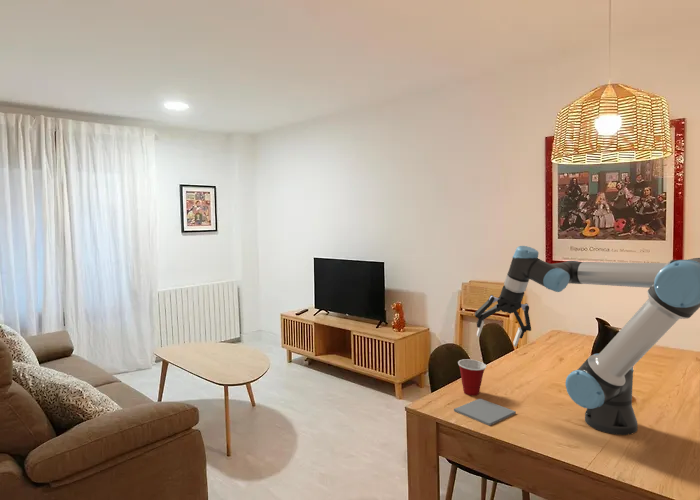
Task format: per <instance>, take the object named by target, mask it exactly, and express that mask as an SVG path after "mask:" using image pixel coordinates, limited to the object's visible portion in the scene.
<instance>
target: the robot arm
mask: <svg viewBox="0 0 700 500" xmlns="http://www.w3.org/2000/svg"><path fill="white" fill-rule="evenodd" d="M539 254H540V253H539V251H538V250H536V249H535V248H534V247H531V246H528V245H519V246H517V247H516V249H515V251H514V253H513V256H512V257H511V258H512V259H511V262H510V266H509V269H508V272H507V273H506V274H507V275H506V277H505V280H504V283H503V286H502V288H501V291H500V293H499V297H496V296H494V295H493V294H490V295H489V298H488V299H487V301H485V302H484V303H483V304H482V305H481V306H480V307H479V308H478V309H477V310H476V311H475V312H474V317H475V318H477V322H476V328H477V331H476V338H477V337H478V338H480V336H481V333H482V330H483V327H484V323H485V319H487V318H488V317H491V316H492V315H494V314H495V313H499V312H501V313H508V314H513V315H514V316H515V318H516V320H517V322H518V324H519V327H518V328H517V331H516V332H515V333H516V334H515V336H514V338H513V342H512V343H513V347H517V346H518V343H519V342H520V339H523V338H524V335H525V333H526V332H527V331H528V332H531V331H532V326H531V325H532V324H531V320H530V315H529V311H530V306H529V303H524V304H523V303H522V301H523V299H524V296H525V292H526V291H527V288H528V285H529V283H530V282H529V281H530V280H531V281H533V282H534V283H536V284H539V285H540V286H542V287H544V288H546V289H547V290H549V291H550V290H551V291H553V292H555V293H560V292H562V291H563V290H565V289H566V288H567V287H568V284H570V285H571V284H572V285H573V284H574V285H595V286H611V287H612V286H614V287H629V288H631V287H632V288H645V289H646V288H648V290H647V291H646V292H647V297H648V299H647V300H646V301H645V302H644V303H643V304H642V305H641V307H639V309H637V311H636V312H634V313H635V314H633V315H632V317H631V318H630V319H629V320H628V321H627V322H626V323H625V325H624V326H623V327H622V328H621V329H620V330H619V331H618V332H617V333H616V335H614V337H613V338H612V339H611V340H610V341H609V342H608V344H606V345H605V347H603V349H602V350H601V351H600V352H599V353H594V354H592V355H590V356H589V357H587V358H586V360H585V361H584V362H583V363H582V364H581V365H580V366H579V367H578V368H577V369H576V370H573V371H571V372H570V373H569V374H568V375H567V376H566V378H565V387H566V392H567V394H568V396H569V398H570V399H571V400H572V401H573V402H574V403H575V404H576V405H578V406H580V407H581V408H584V409H586V411H585V412H584V422H585V423H586V424H587V425H588V426H589V427H591V428H592V429H594V430H597V431H599V432H603V433H607V434H612V435H619V436H627V435H628V434H629V435H633V434H635V433H637V431H638V420H637V417H636V414H635V412H634V411H635V410H634V407H633V384H634V383H633V382H634V371H635V370H634V366H635V365H636V364H637V363H638V362H639V361H640V360H641V359H642V358H643V357H644V356H645V355H646V354H647V353H648V352H649V351H650V349H652V347H653V346H655V345H656V343H657V342H659V340H660V339H661V338H663V336H664V335H665V334H666V333H668V332H669V330H670V329H671V328H672V327H674V325H675V324H676V323H677V322H678V321H679V320H682V319H683V320H686V319H690V318H691V317H693V315H694V314H695V313H697V311H698V310H699V309H700V257H694V258H689V259H671V260H670V261H668V262H663V263H662V262H616V261H615V262H611V261H610V262H609V261H608V262H607V261H606V262H605V261H598V262H597V261H583V262H582V261H577V260H567V261H563V262H557V263H550V262H546V261H545V260H542V259H540V258H539ZM494 303H497V304H495V305H494V306H493V307H491V306H492V305H493V304H494ZM489 307H491V308H489ZM487 309H488V310H487ZM519 309H522V311H523V314H524V320H525V325H524V323H523V321H522V318H521V316H520V315H519V313H518V310H519ZM632 433H633V434H632Z"/></svg>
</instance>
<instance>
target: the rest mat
mask: <svg viewBox="0 0 700 500" xmlns="http://www.w3.org/2000/svg"><path fill="white" fill-rule="evenodd" d="M453 411H454V412H455V413H458V414H460V415H463V416H465V417H467V418H470V419H472V420H475V421H477V422H479V423H482V424H484V425H487V426H493V425H494V424H496V423H499V422H501V421H502V420H505V419H507V418H509V417H511V416H513V415H515V414H517V413H516V410H513V409H510V408H508V407H505V406H501V405H499V404H497V403H494V402H491V401H488V400H486V399H484V398H477V399H475V400H473V401H470V402H467V403H465V404H462V405H460V406H458V407H455V408H453Z"/></svg>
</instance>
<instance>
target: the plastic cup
mask: <svg viewBox="0 0 700 500" xmlns="http://www.w3.org/2000/svg"><path fill="white" fill-rule="evenodd" d="M457 364H458V366H459V371H460V376H461V385H462V389H463V393H464V394H465V395H467V396H478V395H479V394H480V391H481V386H482V381H483V375H484V372H485V369H487V364H486V363H484V362H482V361H479V360H476V359H468V358H467V359H465V358H464V359H460V360H458V361H457Z"/></svg>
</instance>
